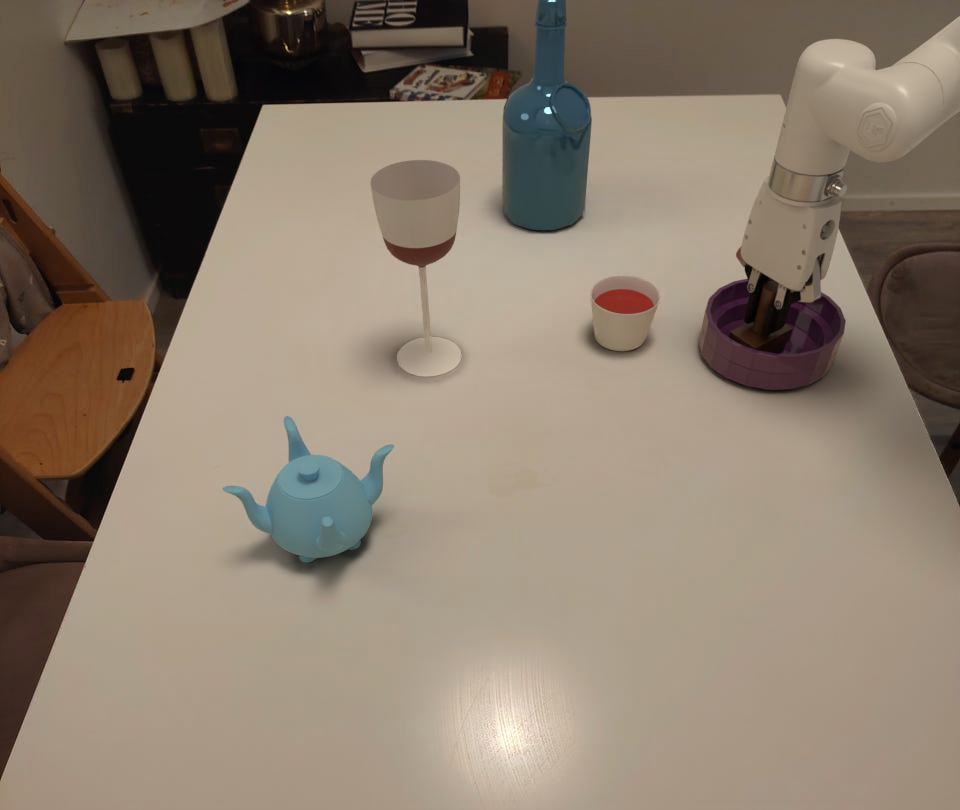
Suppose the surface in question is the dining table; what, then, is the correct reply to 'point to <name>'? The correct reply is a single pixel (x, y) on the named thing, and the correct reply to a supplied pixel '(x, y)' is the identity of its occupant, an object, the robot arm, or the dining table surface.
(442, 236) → the wineglass
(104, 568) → the dining table surface
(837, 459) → the dining table surface
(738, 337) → the brush
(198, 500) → the dining table surface
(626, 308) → the candle
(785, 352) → the bowl
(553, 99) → the wine bottle
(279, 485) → the teapot
